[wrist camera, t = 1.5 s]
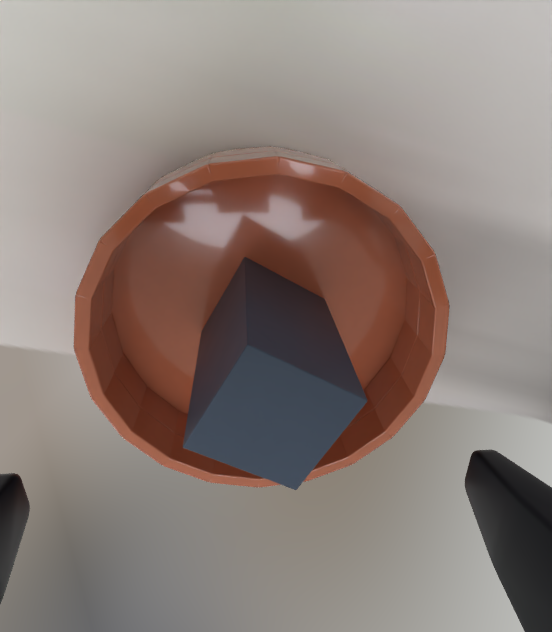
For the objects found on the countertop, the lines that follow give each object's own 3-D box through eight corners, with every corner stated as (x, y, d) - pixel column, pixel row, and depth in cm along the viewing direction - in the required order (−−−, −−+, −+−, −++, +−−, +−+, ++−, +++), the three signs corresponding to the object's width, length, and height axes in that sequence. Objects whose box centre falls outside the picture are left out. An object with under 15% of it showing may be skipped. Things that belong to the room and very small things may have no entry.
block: (325, 299, 21) (368, 401, 14) (278, 367, 23) (296, 491, 16) (244, 256, 20) (247, 344, 13) (200, 331, 22) (181, 447, 14)
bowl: (477, 254, 21) (525, 285, 18) (309, 465, 27) (319, 522, 23) (189, 69, 17) (175, 62, 14) (56, 365, 22) (22, 416, 19)
